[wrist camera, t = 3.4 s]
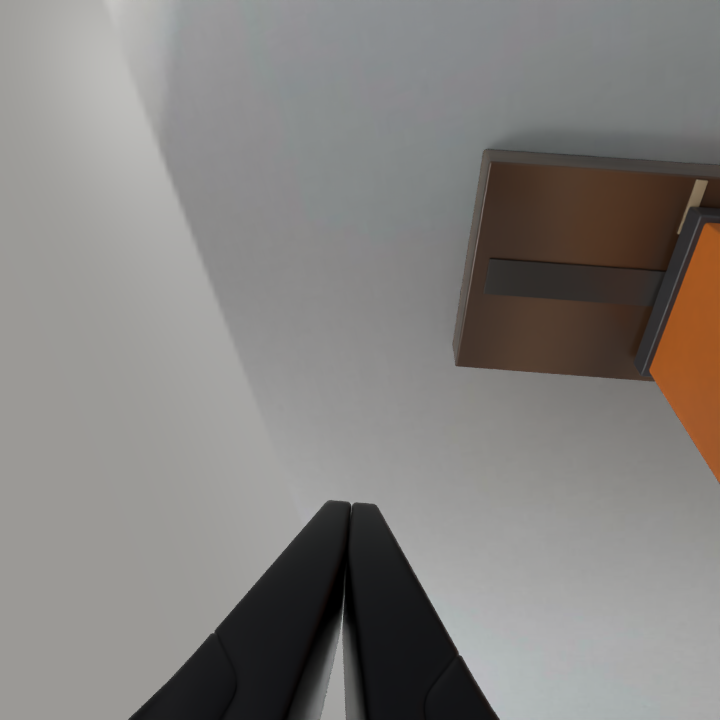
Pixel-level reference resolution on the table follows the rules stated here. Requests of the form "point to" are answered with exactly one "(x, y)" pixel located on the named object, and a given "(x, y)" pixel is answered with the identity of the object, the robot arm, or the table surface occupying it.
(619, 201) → the rail
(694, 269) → the orange rectangular block
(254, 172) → the table surface
